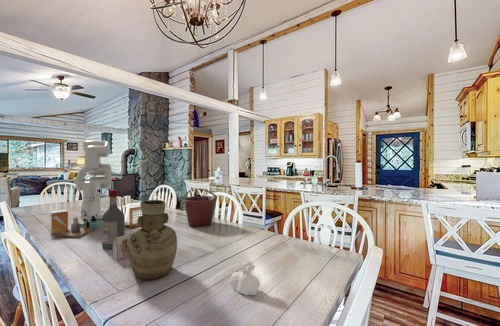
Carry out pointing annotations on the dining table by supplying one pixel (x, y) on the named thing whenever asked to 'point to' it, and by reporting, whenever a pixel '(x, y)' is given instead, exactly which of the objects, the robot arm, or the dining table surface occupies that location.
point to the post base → (74, 235)
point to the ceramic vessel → (151, 242)
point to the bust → (245, 279)
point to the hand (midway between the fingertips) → (90, 225)
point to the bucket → (200, 209)
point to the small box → (59, 221)
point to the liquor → (112, 222)
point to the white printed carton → (119, 247)
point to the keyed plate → (92, 224)
